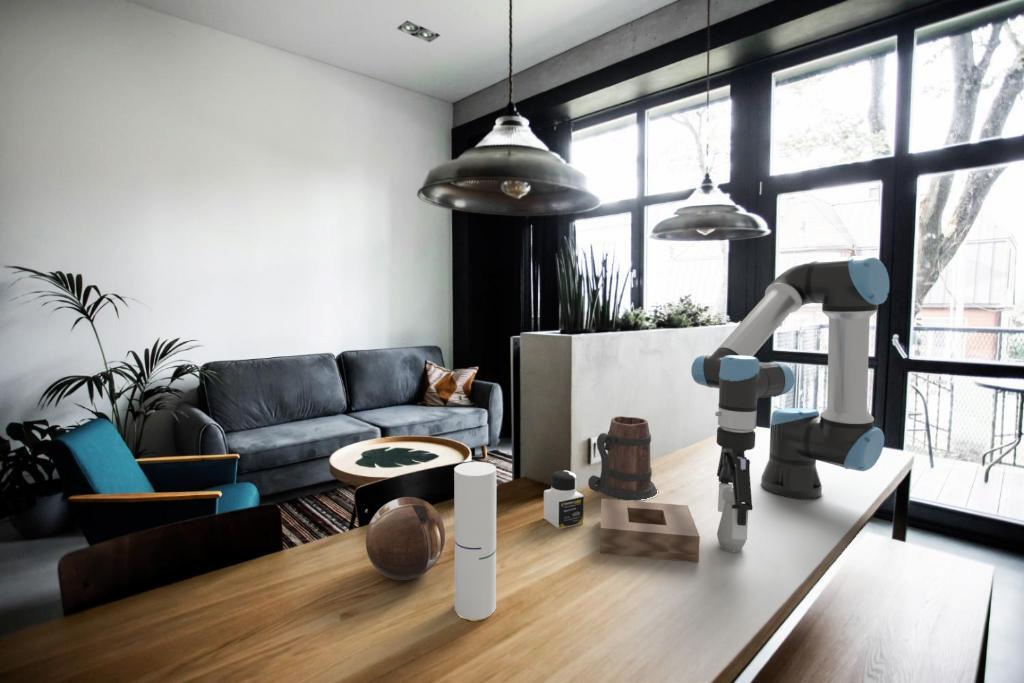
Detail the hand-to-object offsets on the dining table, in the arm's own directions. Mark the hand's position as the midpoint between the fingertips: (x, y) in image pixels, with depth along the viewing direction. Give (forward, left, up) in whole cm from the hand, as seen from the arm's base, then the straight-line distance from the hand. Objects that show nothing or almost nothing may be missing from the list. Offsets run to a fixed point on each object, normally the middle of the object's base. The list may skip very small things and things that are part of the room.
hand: (731, 524), depth 110 cm
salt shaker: (0, 0, -5) cm, 5 cm away
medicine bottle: (+37, -6, -6) cm, 38 cm away
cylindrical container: (+49, +32, -5) cm, 59 cm away
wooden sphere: (+65, +24, -5) cm, 69 cm away
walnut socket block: (+18, 0, -5) cm, 19 cm away
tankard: (+23, -28, -6) cm, 37 cm away
